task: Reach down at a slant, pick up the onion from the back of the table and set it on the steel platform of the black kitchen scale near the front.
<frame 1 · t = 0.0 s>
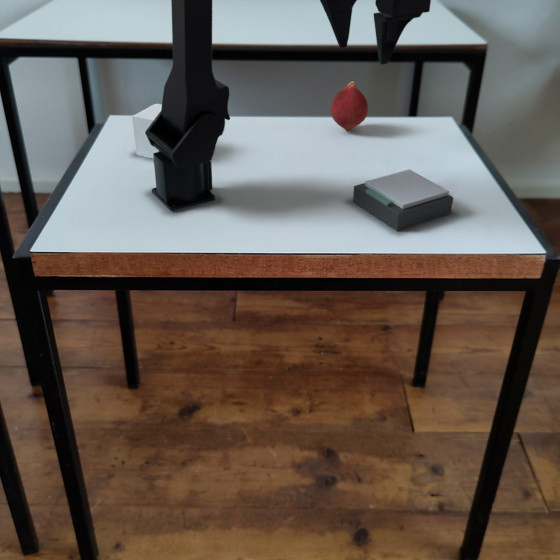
hand: (362, 55, 96), 15 cm above the table, tool pointing down, fingers open, 9 cm apart
white cube: (164, 152, 104), on the table
scale: (401, 207, 90), on the table
onion: (347, 131, 112), on the table
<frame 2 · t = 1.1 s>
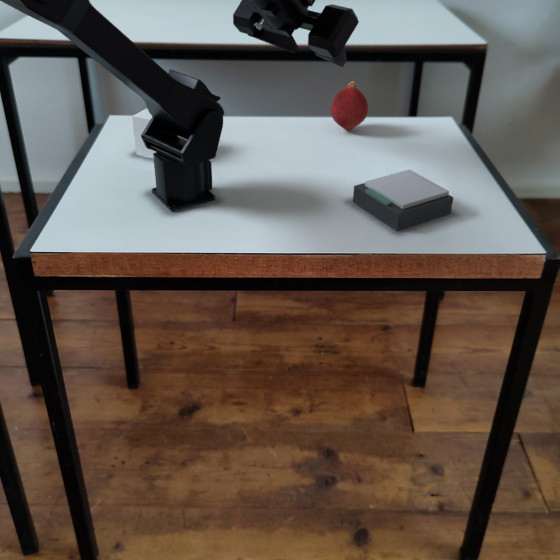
hand: (319, 57, 100), 13 cm above the table, tool tilted 45°, fingers open, 9 cm apart
nothing on the table moved.
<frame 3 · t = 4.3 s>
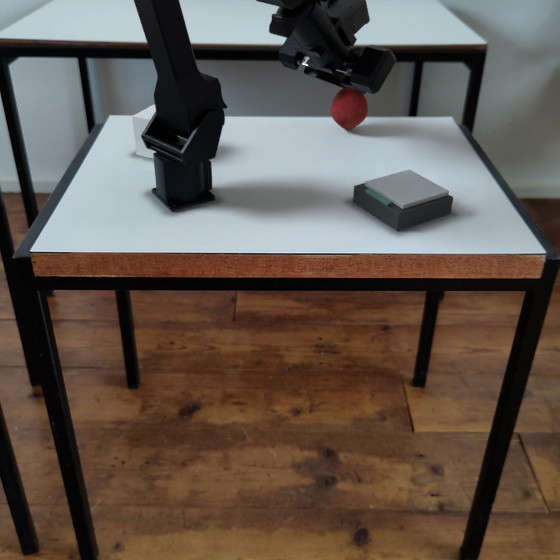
hand: (356, 88, 109), 7 cm above the table, tool tilted 45°, fingers closed on onion, 3 cm apart
onion: (347, 131, 112), on the table, touching gripper
everything else where it was.
when the fingers open (10 cm above the table, at t = 10.2 s): onion stays where it is, resting on scale.
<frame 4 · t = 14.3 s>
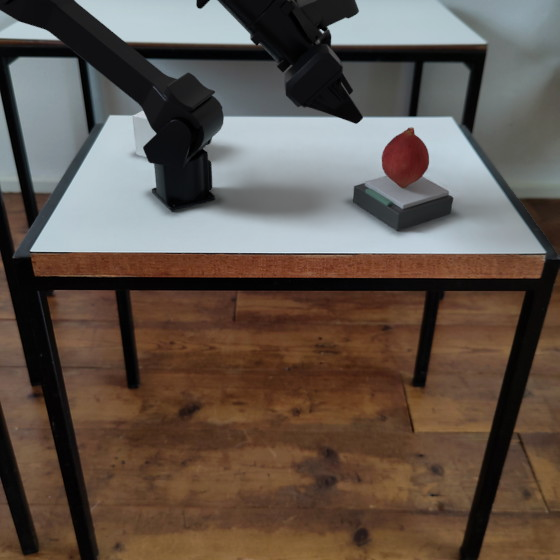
hand: (354, 106, 82), 14 cm above the table, tool tilted 45°, fingers open, 9 cm apart
onion: (401, 188, 89), point 3 cm above the table, touching scale
everything else where it was.
at the end: onion inside the target area on the scale (0.4 cm from its centre), point 2.8 cm above the scale's base; onion touching scale; the gripper is holding nothing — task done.
